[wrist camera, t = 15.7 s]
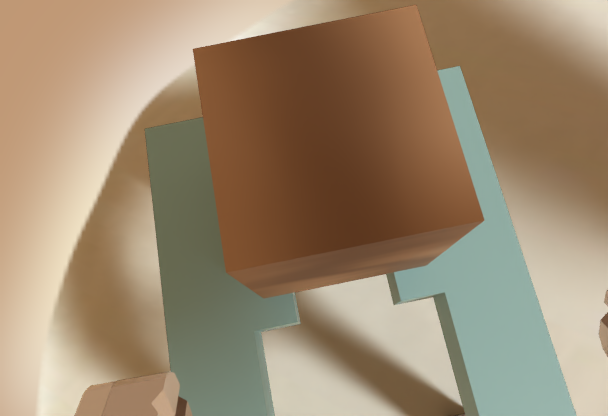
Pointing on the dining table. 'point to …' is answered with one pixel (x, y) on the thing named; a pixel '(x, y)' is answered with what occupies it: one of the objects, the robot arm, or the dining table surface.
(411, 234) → the walnut peg
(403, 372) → the dining table surface
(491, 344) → the keyhole shelf
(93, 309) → the dining table surface
